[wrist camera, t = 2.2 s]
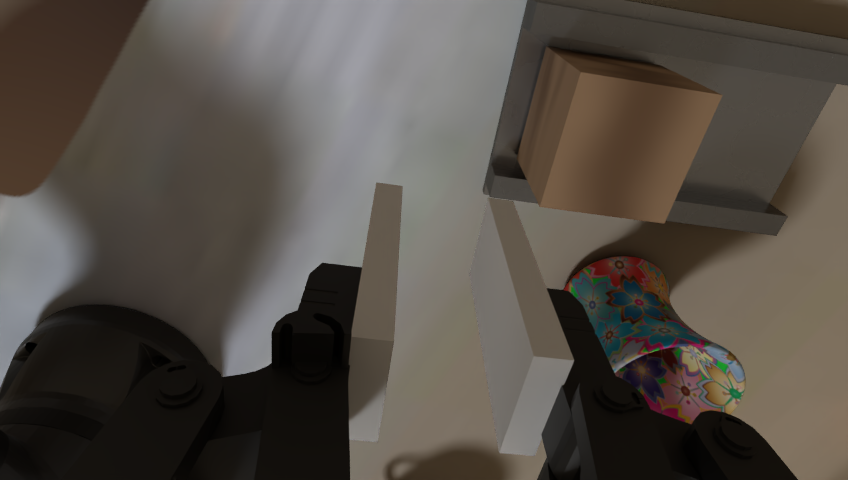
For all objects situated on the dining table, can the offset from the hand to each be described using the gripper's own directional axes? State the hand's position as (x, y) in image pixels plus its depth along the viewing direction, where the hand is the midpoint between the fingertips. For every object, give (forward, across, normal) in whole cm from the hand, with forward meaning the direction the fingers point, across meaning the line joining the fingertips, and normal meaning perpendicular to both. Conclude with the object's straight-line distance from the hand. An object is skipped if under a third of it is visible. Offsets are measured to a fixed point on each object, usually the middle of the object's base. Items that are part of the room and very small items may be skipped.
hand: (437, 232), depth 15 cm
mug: (+19, +16, -15) cm, 29 cm away
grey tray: (+19, +15, 0) cm, 24 cm away
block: (+18, +10, 0) cm, 20 cm away
